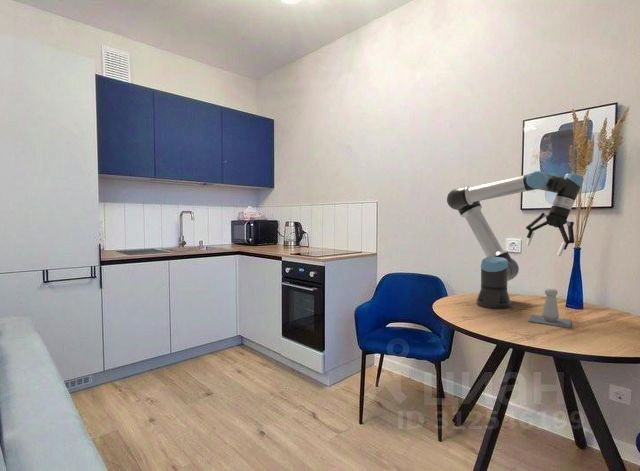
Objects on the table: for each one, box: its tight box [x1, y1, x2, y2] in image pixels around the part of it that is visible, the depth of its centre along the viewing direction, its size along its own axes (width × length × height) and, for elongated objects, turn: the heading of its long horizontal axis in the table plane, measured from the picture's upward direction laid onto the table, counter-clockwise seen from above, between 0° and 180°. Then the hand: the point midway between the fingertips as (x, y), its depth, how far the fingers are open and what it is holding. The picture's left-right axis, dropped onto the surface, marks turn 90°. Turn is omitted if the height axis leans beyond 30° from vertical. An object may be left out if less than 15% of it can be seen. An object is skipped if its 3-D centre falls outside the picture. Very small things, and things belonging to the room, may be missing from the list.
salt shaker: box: [541, 288, 560, 322], centre depth 142 cm, size 6×6×13 cm
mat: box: [528, 314, 572, 329], centre depth 142 cm, size 14×12×1 cm
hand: (542, 250), depth 161 cm, fingers open, 13 cm apart
